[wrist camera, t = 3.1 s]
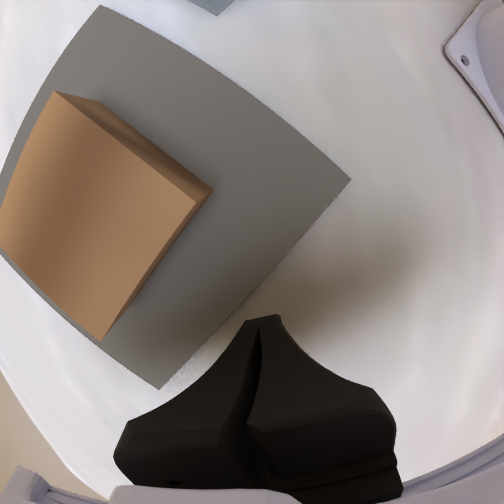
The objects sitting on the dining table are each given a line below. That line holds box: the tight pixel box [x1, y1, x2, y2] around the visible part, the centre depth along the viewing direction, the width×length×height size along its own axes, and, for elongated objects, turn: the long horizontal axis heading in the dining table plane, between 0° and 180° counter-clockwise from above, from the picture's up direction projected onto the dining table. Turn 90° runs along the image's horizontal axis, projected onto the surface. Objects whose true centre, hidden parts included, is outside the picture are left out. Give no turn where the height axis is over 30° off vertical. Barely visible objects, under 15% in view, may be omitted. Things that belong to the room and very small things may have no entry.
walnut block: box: [0, 91, 214, 342], centre depth 9 cm, size 6×6×3 cm
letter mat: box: [0, 5, 351, 390], centre depth 11 cm, size 13×13×1 cm
